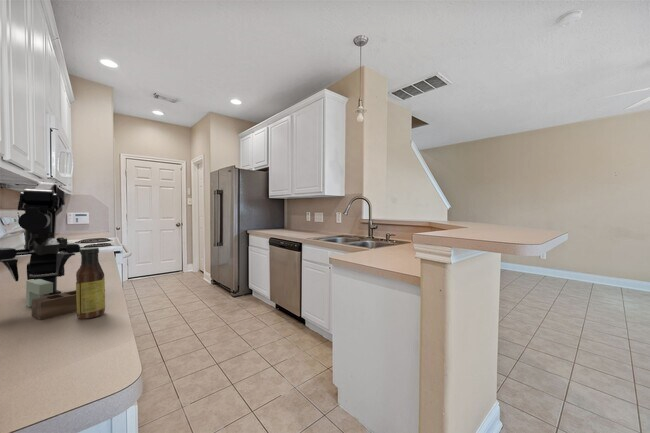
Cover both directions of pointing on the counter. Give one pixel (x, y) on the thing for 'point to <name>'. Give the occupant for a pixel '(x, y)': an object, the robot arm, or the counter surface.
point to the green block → (37, 290)
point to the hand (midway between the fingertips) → (38, 277)
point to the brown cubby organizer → (54, 305)
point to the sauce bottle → (90, 285)
